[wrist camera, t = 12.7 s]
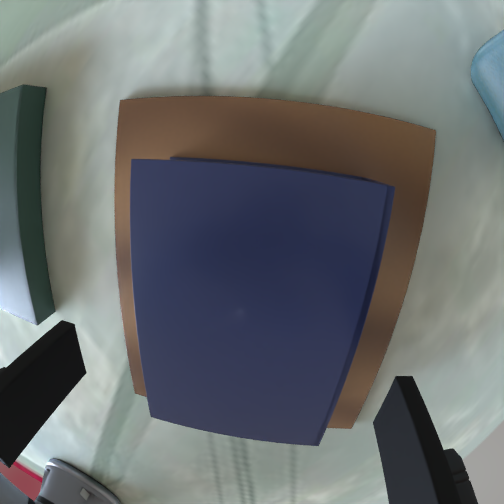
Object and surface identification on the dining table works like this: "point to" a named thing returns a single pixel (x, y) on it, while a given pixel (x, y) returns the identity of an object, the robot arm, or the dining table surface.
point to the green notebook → (22, 207)
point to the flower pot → (491, 77)
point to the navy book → (251, 291)
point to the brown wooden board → (297, 155)
